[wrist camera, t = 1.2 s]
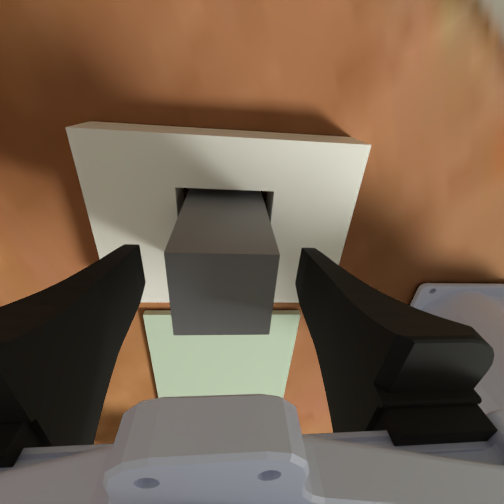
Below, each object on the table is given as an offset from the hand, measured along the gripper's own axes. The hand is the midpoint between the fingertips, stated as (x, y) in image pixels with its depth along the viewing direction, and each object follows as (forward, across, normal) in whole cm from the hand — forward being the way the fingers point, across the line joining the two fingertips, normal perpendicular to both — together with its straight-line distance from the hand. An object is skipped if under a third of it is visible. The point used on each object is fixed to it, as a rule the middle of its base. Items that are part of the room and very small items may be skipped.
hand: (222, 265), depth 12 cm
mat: (+6, 0, +14) cm, 15 cm away
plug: (+6, 0, 0) cm, 6 cm away
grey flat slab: (+6, 0, 0) cm, 6 cm away
